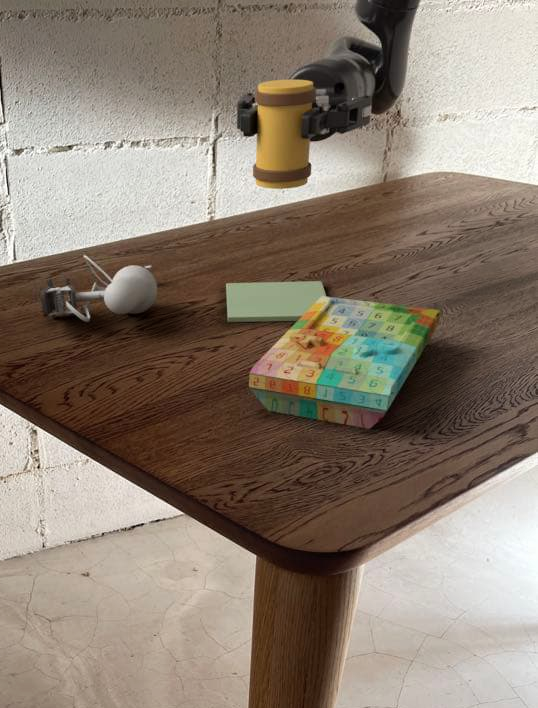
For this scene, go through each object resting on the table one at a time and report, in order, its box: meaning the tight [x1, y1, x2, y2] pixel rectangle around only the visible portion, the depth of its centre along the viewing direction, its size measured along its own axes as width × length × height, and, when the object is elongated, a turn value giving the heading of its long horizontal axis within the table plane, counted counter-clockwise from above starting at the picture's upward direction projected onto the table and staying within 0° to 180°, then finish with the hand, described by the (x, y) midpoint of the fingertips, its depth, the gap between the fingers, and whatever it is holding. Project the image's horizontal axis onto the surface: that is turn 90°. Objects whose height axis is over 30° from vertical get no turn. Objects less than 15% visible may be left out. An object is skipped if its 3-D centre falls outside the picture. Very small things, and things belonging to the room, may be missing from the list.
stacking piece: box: [252, 79, 316, 190], centre depth 86 cm, size 6×6×9 cm
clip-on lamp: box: [40, 254, 158, 323], centre depth 96 cm, size 12×6×18 cm
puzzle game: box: [248, 295, 442, 430], centre depth 79 cm, size 12×5×20 cm
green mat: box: [225, 280, 327, 323], centre depth 97 cm, size 11×11×1 cm
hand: (276, 126), depth 83 cm, fingers closed on stacking piece, 5 cm apart
